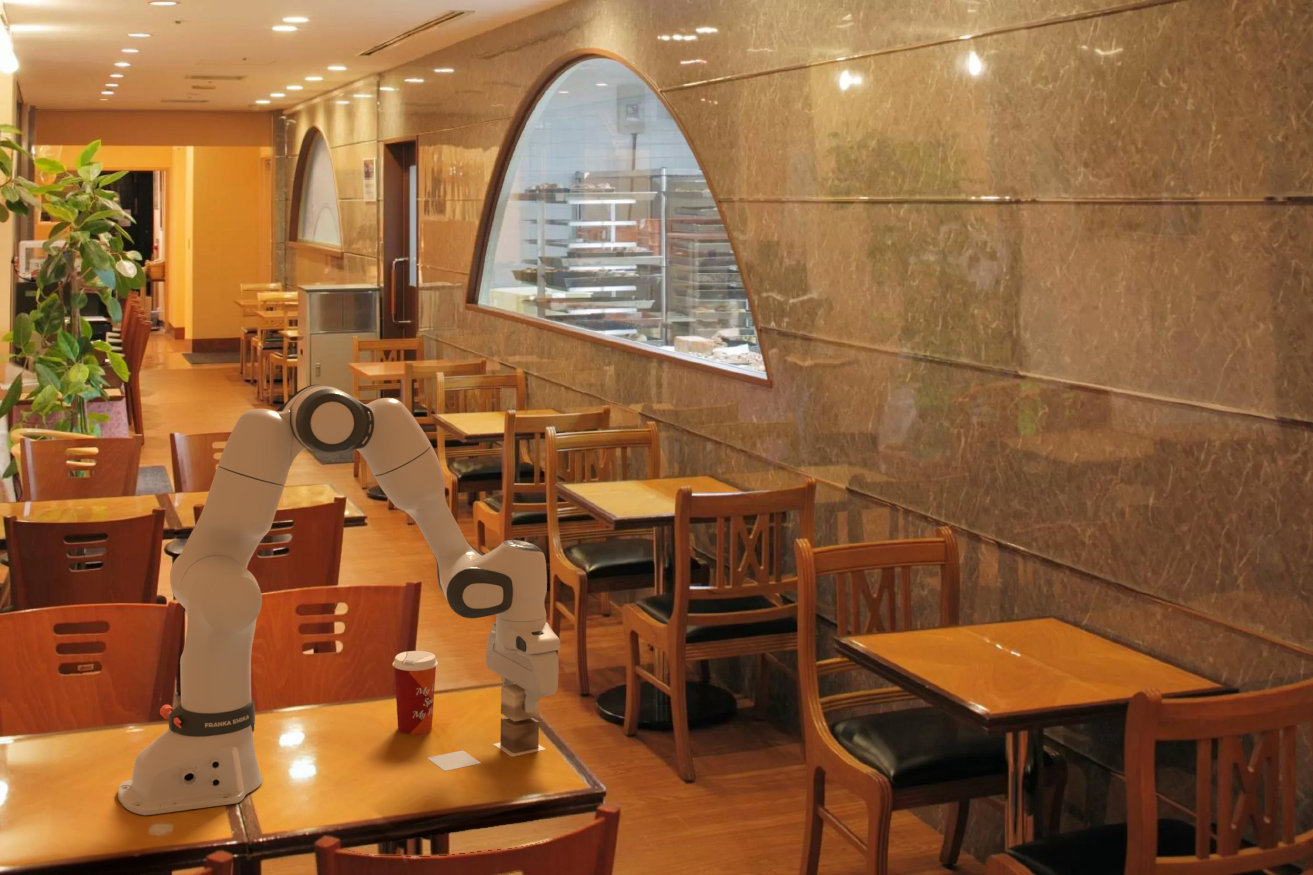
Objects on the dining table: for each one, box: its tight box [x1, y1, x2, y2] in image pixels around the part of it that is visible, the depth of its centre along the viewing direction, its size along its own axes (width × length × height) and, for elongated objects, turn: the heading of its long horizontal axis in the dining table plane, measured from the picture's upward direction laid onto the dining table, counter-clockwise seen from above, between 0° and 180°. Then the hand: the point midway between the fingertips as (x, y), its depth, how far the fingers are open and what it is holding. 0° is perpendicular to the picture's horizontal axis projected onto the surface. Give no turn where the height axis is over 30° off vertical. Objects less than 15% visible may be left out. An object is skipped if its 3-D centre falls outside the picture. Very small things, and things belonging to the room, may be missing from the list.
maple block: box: [500, 683, 540, 722], centre depth 241 cm, size 5×5×5 cm
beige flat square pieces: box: [426, 742, 547, 772], centre depth 238 cm, size 22×14×1 cm, turn 125°
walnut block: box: [499, 716, 540, 754], centre depth 241 cm, size 5×5×5 cm
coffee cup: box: [392, 650, 439, 735], centre depth 249 cm, size 8×8×15 cm
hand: (519, 706), depth 241 cm, fingers closed on maple block, 5 cm apart
